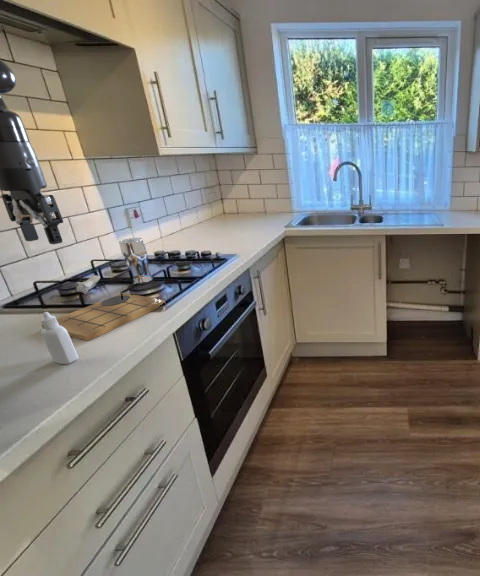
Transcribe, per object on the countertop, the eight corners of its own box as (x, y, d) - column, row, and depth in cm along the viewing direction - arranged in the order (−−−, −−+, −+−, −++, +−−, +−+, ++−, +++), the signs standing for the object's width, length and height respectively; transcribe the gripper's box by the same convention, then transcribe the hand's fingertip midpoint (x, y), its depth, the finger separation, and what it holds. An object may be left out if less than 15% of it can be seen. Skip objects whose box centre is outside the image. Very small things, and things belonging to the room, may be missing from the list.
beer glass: (126, 284, 123) (112, 242, 118) (144, 277, 130) (132, 236, 124) (141, 286, 121) (128, 243, 116) (159, 279, 127) (147, 238, 122)
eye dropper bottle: (77, 351, 85) (58, 305, 80) (79, 361, 81) (59, 313, 76) (53, 358, 82) (31, 311, 78) (54, 369, 78) (31, 320, 74)
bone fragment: (102, 282, 126) (99, 272, 125) (89, 294, 116) (85, 284, 115) (87, 284, 125) (83, 274, 124) (72, 296, 115) (68, 286, 114)
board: (87, 341, 89) (85, 335, 88) (43, 329, 95) (40, 324, 95) (165, 304, 108) (164, 299, 107) (124, 296, 114) (122, 292, 113)
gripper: (-28, 166, 74) (4, 243, 80) (13, 167, 69) (44, 249, 75) (17, 164, 80) (44, 236, 86) (58, 164, 76) (83, 240, 82)
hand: (44, 242), depth 81 cm, fingers open, 8 cm apart
